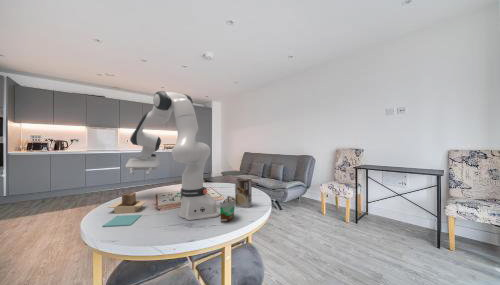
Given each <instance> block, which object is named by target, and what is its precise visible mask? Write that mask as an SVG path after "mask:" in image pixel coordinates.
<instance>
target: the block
mask: <svg viewBox="0 0 500 285" xmlns="http://www.w3.org/2000/svg"><path fill="white" fill-rule="evenodd" d="M136 196H137V193H136V192H128V193H127V192H126V193H124V194H123V195H121V201H122V206H134V205H136V201H137V200H136V198H137V197H136Z"/></svg>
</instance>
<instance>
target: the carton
mask: <svg viewBox="0 0 500 285" xmlns="http://www.w3.org/2000/svg"><path fill="white" fill-rule="evenodd" d="M147 202H148V200H136V205H134V206H122V200H121V201H117V202H115V203H113V204H111V205H110V206H108V209H111V208H112V209H113V214H134V213H137V211H138V210H140V209H142V207H143V205H145V204H146V203H147Z"/></svg>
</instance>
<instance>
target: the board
mask: <svg viewBox="0 0 500 285" xmlns="http://www.w3.org/2000/svg"><path fill="white" fill-rule="evenodd" d="M141 217H142V214H127V215H126V214H123V215H116V216H115V217H113V218H112V219H110V220H109V221H107V222H106V223H104V224H103V225H102V228H105V227H106V228H107V227H111V228H112V227H126V226H129V227H130V226H132V225H133V224H134V223H136V221H138V220H139V219H140V218H141Z"/></svg>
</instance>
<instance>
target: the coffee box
mask: <svg viewBox="0 0 500 285" xmlns="http://www.w3.org/2000/svg"><path fill="white" fill-rule="evenodd" d="M252 181H253V180H252V179H251V178H239V177H238V178H237V179H235V181H234V183H235V184H234V186H235V188H234V191H235V193H234V194H235V197H234V198H235V200H236V204H235V207H238V206H241V208H248V207H249V208H250V207H251V206H252V205H253V204H252V203H253V202H252V195H253V194H252V190H253V189H252ZM251 204H252V205H251Z"/></svg>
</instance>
